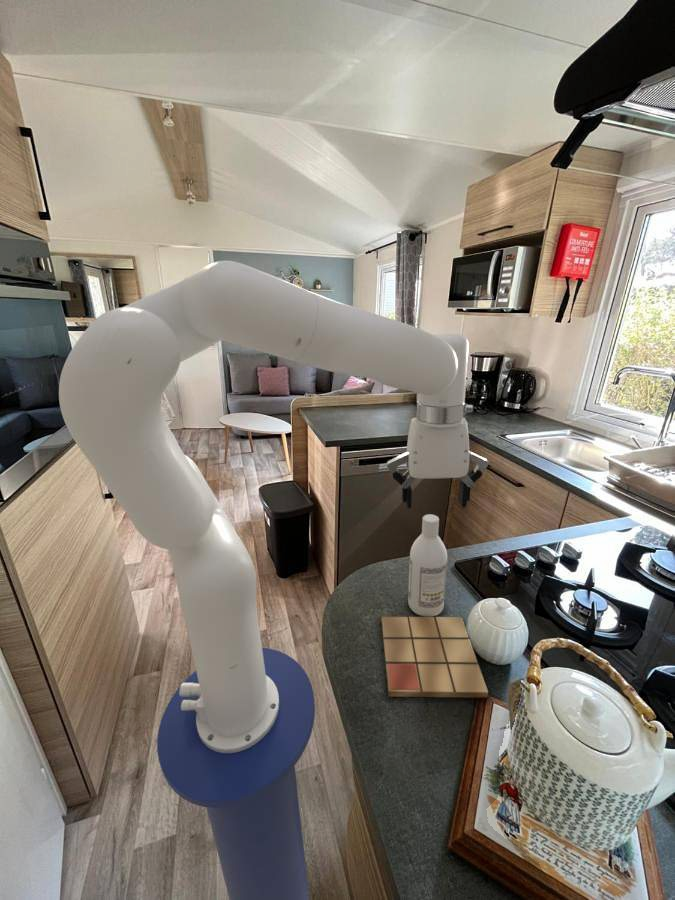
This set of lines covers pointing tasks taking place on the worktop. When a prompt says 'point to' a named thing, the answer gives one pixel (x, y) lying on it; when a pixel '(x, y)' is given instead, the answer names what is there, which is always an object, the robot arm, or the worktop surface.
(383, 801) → the worktop surface
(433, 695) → the grid board
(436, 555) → the bath foam
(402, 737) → the worktop surface
